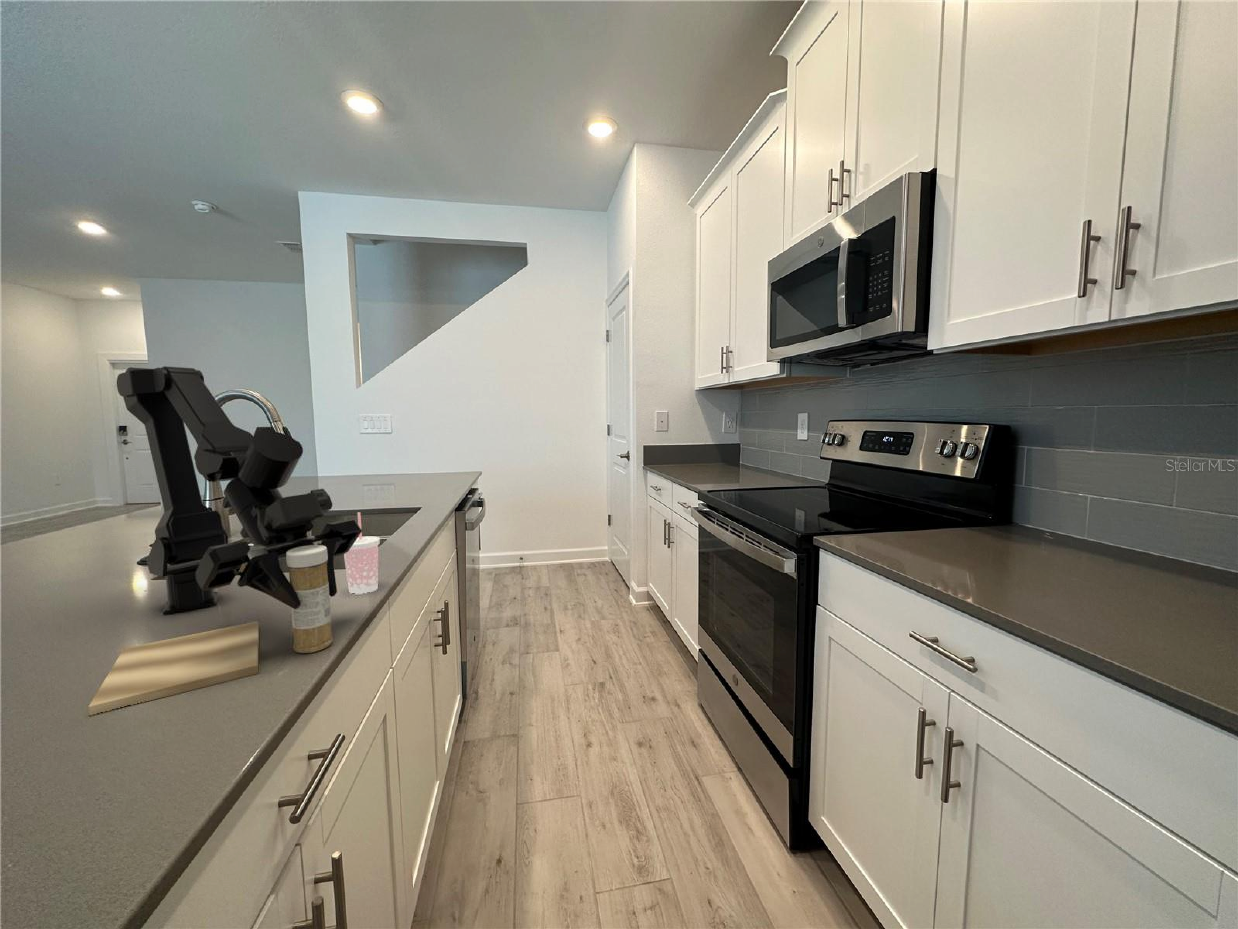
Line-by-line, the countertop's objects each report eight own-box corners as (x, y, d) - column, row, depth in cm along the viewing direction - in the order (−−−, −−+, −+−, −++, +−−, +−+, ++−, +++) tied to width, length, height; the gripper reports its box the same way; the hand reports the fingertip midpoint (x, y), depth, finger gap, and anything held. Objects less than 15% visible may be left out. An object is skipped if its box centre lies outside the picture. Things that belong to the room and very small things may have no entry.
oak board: (125, 655, 63) (124, 648, 63) (258, 627, 71) (258, 621, 71) (89, 715, 50) (88, 706, 50) (257, 673, 58) (257, 665, 58)
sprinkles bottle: (307, 639, 68) (300, 543, 66) (340, 638, 67) (334, 543, 66) (285, 655, 63) (277, 553, 62) (320, 654, 63) (312, 553, 62)
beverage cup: (386, 590, 86) (381, 512, 85) (346, 598, 83) (341, 517, 81) (378, 581, 91) (374, 507, 90) (341, 588, 88) (336, 511, 86)
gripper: (198, 480, 56) (259, 587, 53) (350, 465, 73) (404, 546, 69) (172, 539, 61) (226, 642, 57) (321, 513, 77) (371, 591, 73)
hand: (316, 600), depth 64 cm, fingers closed on sprinkles bottle, 4 cm apart
